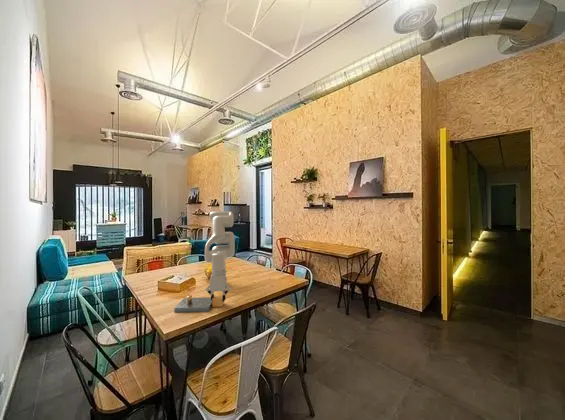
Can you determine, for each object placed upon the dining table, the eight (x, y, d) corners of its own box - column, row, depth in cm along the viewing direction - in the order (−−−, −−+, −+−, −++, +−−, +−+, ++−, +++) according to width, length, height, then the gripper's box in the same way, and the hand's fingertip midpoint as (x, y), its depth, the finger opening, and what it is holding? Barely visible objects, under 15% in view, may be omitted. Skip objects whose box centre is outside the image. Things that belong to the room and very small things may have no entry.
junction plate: (184, 301, 157) (184, 291, 156) (215, 301, 158) (215, 291, 157) (174, 312, 141) (174, 301, 140) (208, 311, 142) (208, 300, 141)
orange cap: (214, 302, 153) (214, 295, 153) (224, 302, 154) (224, 294, 153) (212, 306, 147) (212, 298, 147) (222, 306, 148) (222, 298, 147)
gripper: (232, 270, 154) (233, 298, 154) (205, 271, 153) (206, 298, 153) (230, 274, 146) (231, 303, 147) (202, 274, 145) (202, 303, 146)
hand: (218, 300), depth 150 cm, fingers closed on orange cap, 6 cm apart
